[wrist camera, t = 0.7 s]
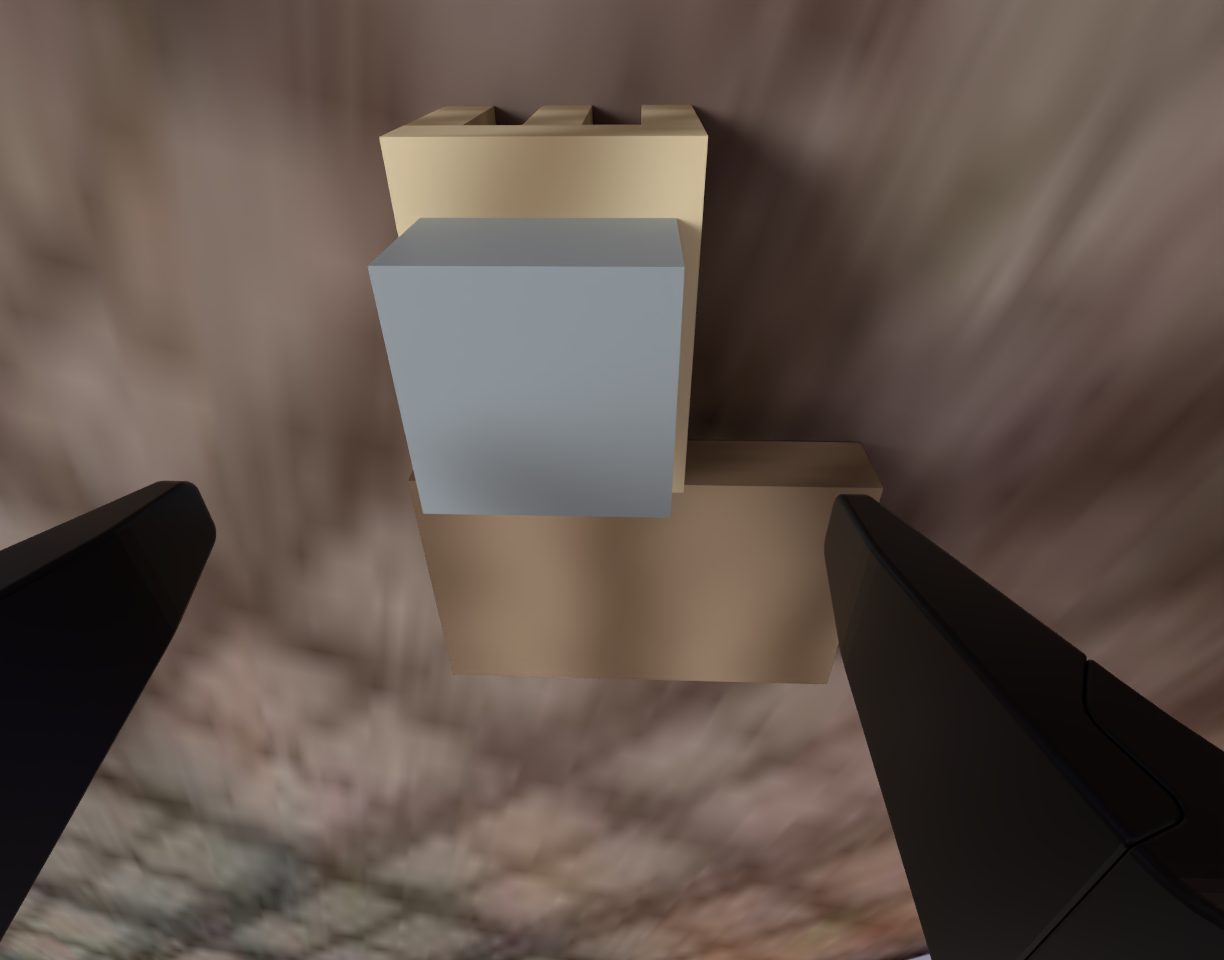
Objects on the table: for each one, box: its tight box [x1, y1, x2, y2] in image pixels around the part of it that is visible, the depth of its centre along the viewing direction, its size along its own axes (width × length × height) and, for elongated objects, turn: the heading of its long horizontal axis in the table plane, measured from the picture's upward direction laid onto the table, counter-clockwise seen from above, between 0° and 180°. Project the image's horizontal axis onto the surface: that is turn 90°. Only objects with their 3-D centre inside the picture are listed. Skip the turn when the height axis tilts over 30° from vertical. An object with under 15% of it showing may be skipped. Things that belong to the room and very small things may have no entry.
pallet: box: [379, 105, 708, 493], centre depth 16 cm, size 6×8×5 cm
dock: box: [408, 440, 883, 684], centre depth 23 cm, size 14×9×2 cm, turn 91°
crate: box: [368, 218, 685, 518], centre depth 13 cm, size 5×5×3 cm
